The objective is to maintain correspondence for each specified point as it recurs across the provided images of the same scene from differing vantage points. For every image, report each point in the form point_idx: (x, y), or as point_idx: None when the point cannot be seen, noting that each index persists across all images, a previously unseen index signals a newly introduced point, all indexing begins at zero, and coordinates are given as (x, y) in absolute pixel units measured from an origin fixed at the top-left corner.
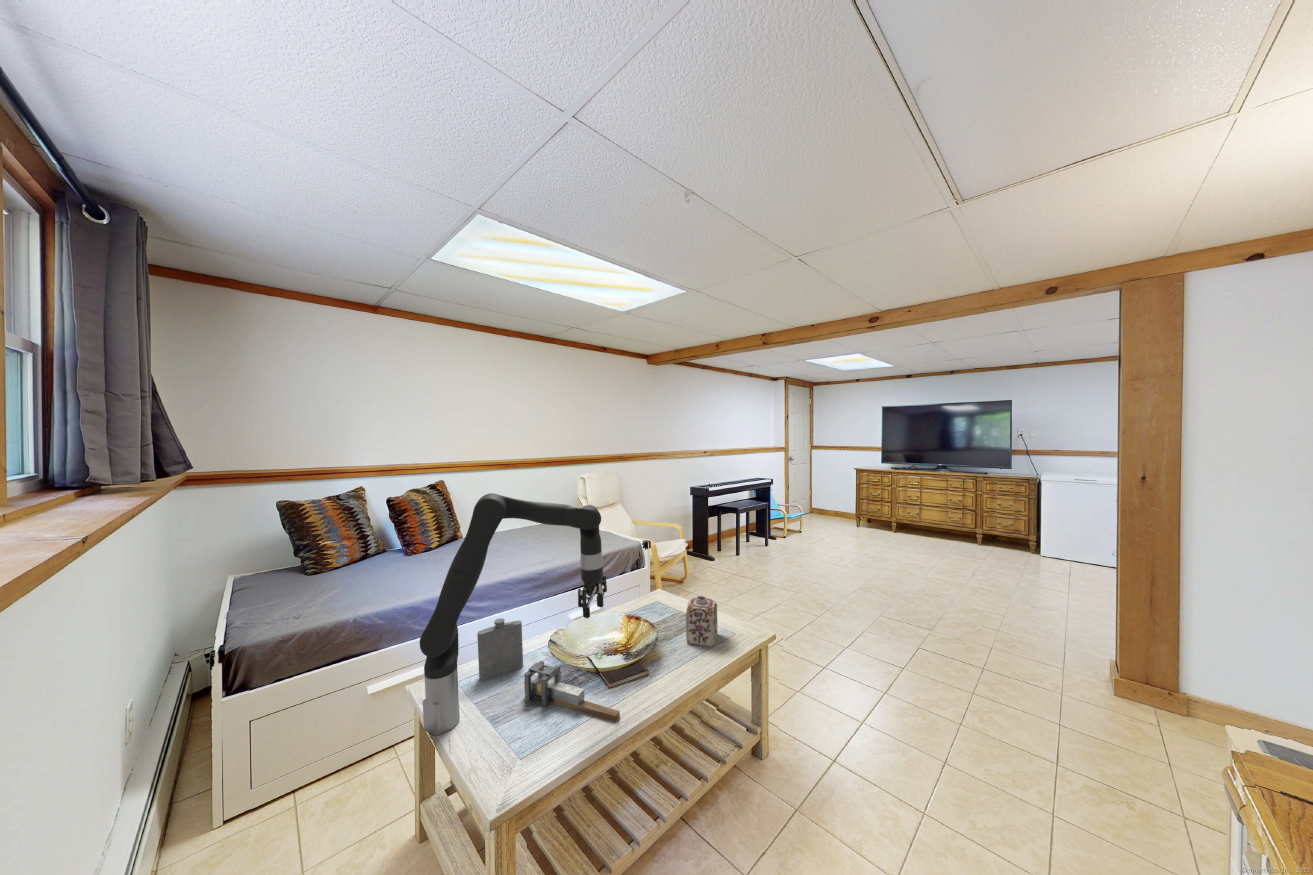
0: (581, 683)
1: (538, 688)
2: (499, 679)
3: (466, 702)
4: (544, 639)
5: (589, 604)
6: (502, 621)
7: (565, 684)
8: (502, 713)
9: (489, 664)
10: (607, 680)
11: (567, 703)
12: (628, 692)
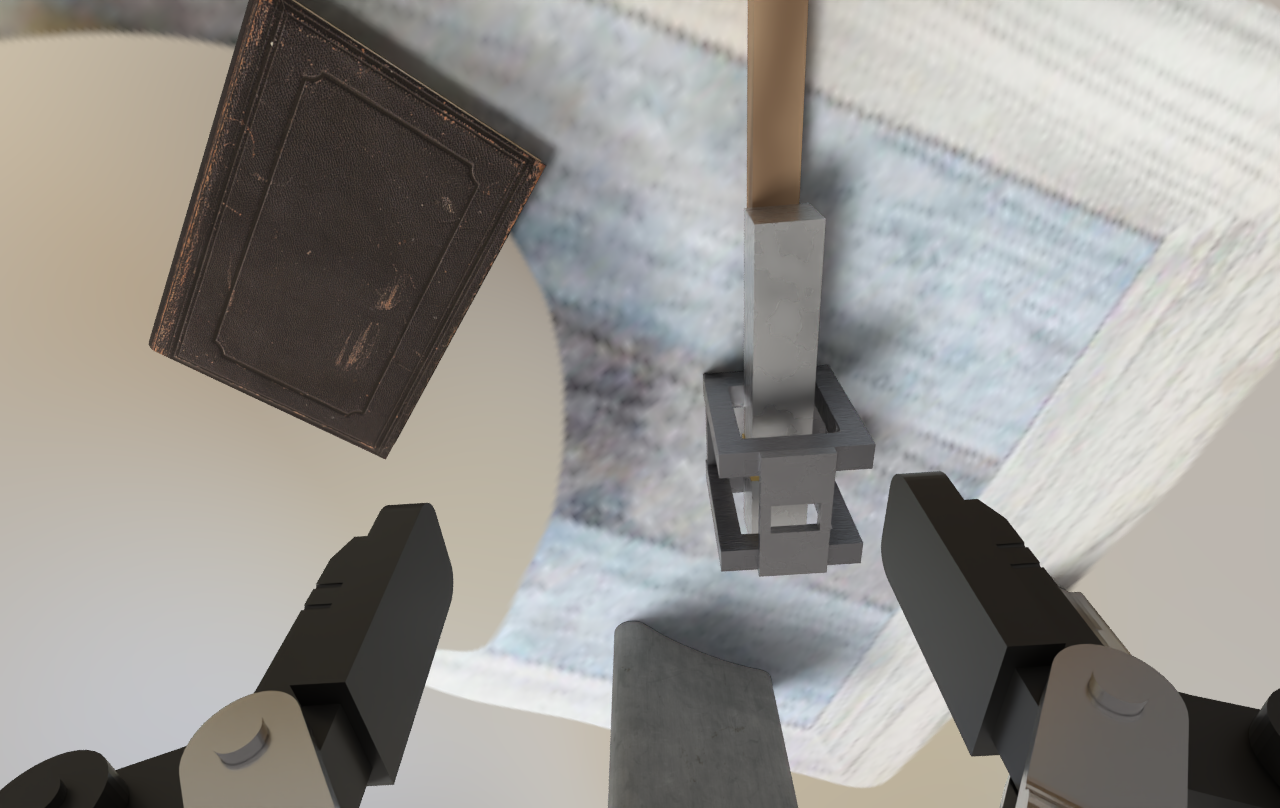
0: (593, 330)
1: None
2: (737, 635)
3: (896, 635)
4: None
5: (1065, 703)
6: None
7: (758, 352)
8: None
9: (753, 718)
10: (525, 191)
11: None
12: (517, 5)
